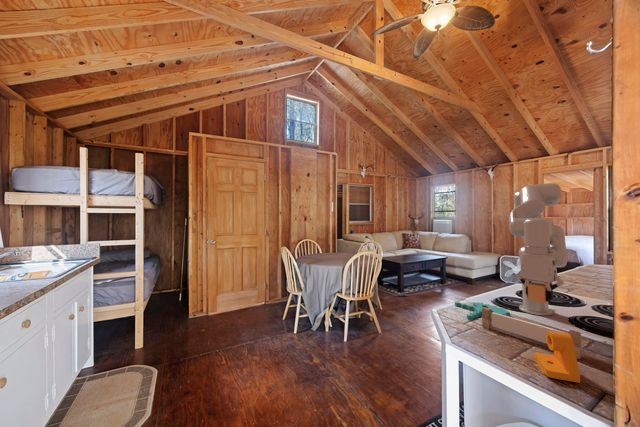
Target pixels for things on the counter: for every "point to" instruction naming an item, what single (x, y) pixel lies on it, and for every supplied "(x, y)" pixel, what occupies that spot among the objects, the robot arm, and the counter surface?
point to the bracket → (559, 358)
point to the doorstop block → (537, 292)
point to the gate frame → (488, 325)
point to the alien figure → (478, 309)
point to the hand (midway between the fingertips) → (539, 298)
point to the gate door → (521, 327)
